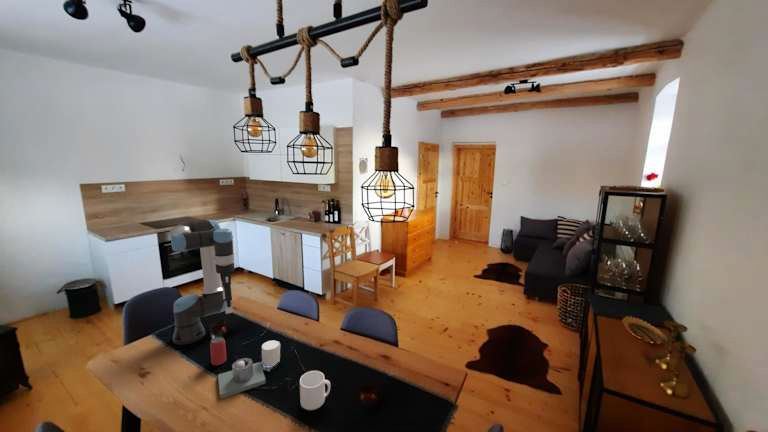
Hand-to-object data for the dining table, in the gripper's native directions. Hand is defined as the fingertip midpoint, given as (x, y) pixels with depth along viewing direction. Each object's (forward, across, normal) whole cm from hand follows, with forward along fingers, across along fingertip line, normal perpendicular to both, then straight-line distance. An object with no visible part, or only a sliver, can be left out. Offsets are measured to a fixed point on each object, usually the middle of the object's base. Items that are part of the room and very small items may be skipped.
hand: (227, 306), depth 140 cm
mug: (+30, +42, +28) cm, 59 cm away
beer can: (+32, -6, -5) cm, 33 cm away
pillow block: (+31, +14, +3) cm, 34 cm away
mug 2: (+31, +6, +18) cm, 36 cm away
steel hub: (+29, +14, +4) cm, 32 cm away
